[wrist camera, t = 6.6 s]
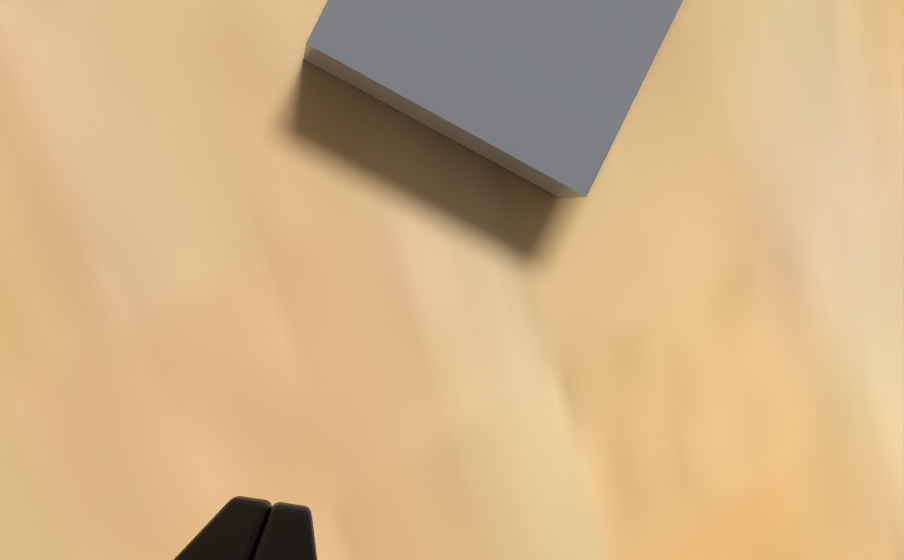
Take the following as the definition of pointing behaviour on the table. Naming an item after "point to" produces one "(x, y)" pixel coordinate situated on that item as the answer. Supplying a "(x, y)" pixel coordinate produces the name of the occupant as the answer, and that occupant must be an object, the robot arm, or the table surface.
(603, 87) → the glazed tile
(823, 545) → the table surface
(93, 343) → the table surface
